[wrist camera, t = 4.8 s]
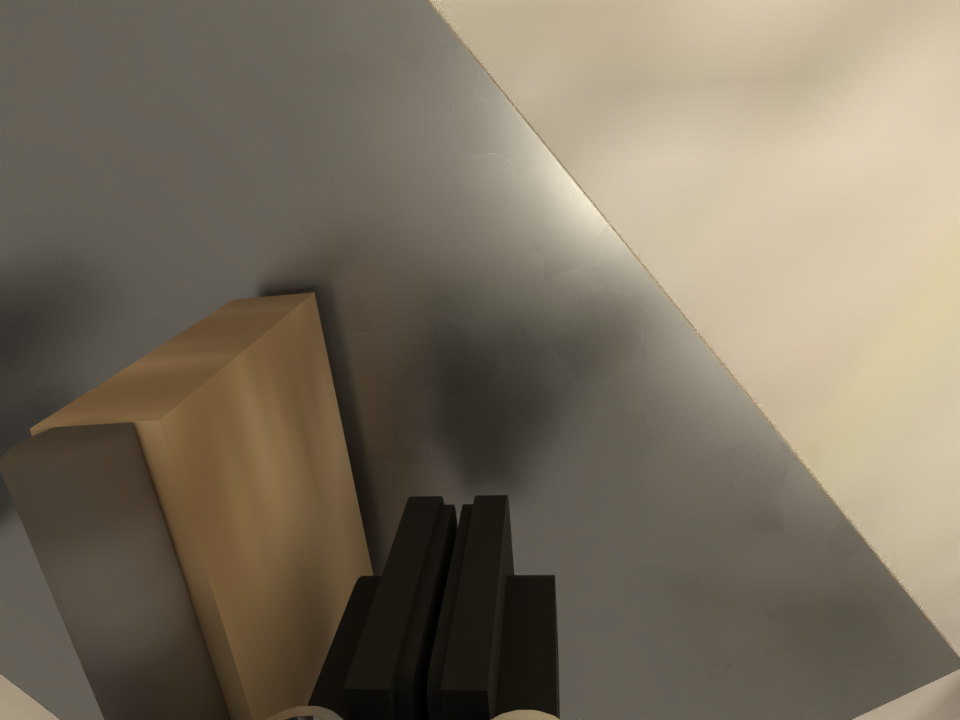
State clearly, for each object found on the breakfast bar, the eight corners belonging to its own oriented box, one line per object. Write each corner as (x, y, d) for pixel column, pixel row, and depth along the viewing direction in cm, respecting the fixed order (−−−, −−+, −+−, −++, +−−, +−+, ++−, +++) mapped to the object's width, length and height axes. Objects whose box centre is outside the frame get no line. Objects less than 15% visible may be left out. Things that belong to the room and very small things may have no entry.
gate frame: (952, 647, 14) (1291, 1108, 8) (364, 929, 20) (273, 1335, 13) (164, -328, 10) (-654, -1236, 3) (-319, 398, 15) (-977, 626, 9)
